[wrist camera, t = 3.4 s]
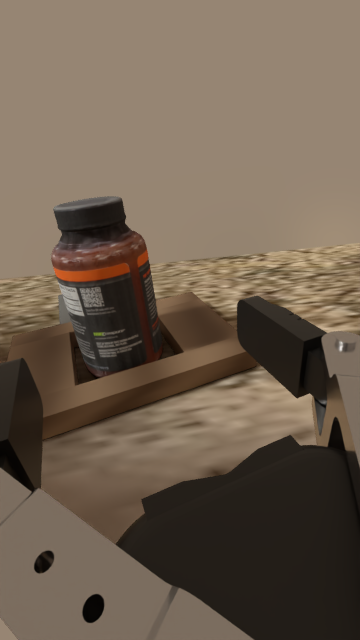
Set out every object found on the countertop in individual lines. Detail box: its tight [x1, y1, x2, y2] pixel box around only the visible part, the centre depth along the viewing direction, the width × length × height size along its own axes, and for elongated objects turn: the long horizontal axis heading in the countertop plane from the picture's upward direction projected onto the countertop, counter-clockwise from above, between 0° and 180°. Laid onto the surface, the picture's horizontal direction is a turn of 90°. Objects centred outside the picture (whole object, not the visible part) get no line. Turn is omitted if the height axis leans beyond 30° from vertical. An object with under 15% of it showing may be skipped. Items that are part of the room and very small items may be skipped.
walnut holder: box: [7, 292, 256, 440], centre depth 22 cm, size 16×11×2 cm
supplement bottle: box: [51, 197, 163, 378], centre depth 20 cm, size 6×6×11 cm
